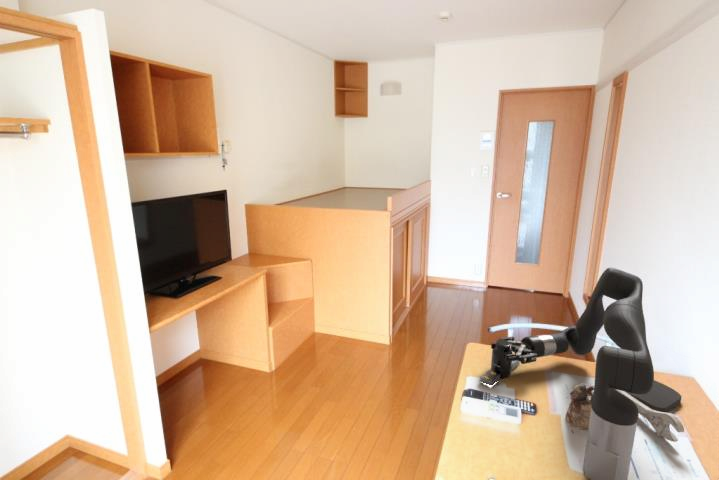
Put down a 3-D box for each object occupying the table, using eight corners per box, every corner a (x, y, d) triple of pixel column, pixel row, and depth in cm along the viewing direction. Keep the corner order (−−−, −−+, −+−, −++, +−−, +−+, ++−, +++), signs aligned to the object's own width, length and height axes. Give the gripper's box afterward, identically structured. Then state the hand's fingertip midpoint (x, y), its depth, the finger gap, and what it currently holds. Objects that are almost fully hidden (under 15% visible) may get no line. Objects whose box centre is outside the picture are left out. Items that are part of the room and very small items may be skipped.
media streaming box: (661, 417, 117) (663, 408, 116) (610, 392, 129) (611, 383, 128) (685, 401, 124) (686, 393, 123) (634, 378, 136) (635, 371, 135)
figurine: (566, 410, 120) (570, 375, 117) (593, 418, 117) (598, 382, 114) (564, 424, 114) (568, 387, 111) (592, 432, 111) (597, 395, 108)
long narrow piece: (490, 388, 131) (491, 380, 131) (480, 383, 134) (480, 375, 134) (519, 364, 145) (520, 357, 145) (509, 360, 148) (509, 353, 148)
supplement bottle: (490, 377, 138) (492, 346, 135) (490, 366, 144) (492, 336, 141) (511, 380, 136) (514, 348, 133) (510, 369, 142) (512, 339, 139)
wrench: (603, 393, 133) (683, 450, 103) (598, 393, 133) (676, 451, 103) (604, 370, 132) (685, 421, 102) (599, 370, 132) (678, 422, 102)
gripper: (527, 327, 147) (487, 333, 143) (553, 346, 134) (511, 352, 130) (525, 346, 149) (486, 351, 145) (551, 365, 135) (509, 372, 132)
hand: (498, 352), depth 138 cm, fingers open, 8 cm apart
